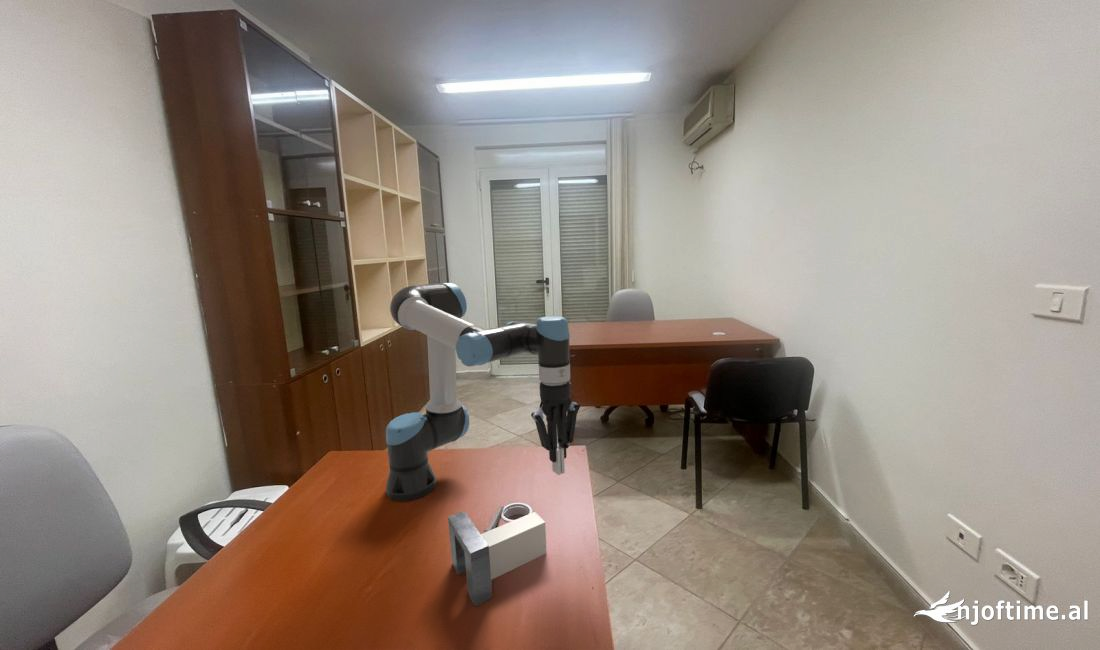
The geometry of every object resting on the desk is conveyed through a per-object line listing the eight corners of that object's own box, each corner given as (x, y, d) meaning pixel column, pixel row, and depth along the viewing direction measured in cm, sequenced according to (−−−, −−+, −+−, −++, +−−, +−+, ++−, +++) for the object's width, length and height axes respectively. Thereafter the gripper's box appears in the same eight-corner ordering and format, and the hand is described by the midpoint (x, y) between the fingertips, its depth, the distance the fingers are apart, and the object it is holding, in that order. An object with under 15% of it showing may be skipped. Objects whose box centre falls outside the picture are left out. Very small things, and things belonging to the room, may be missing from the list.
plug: (469, 572, 95) (466, 539, 93) (536, 541, 104) (534, 511, 103) (477, 586, 91) (474, 552, 89) (546, 553, 100) (545, 522, 99)
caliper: (487, 559, 99) (485, 536, 98) (483, 559, 99) (481, 536, 98) (503, 508, 119) (502, 488, 118) (500, 508, 119) (498, 488, 118)
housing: (452, 564, 98) (447, 516, 95) (468, 557, 100) (464, 510, 97) (474, 606, 85) (470, 553, 83) (492, 597, 87) (488, 545, 85)
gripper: (538, 390, 91) (543, 487, 95) (586, 379, 98) (589, 469, 102) (522, 382, 98) (527, 473, 102) (569, 372, 105) (572, 458, 109)
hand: (558, 471), depth 102 cm, fingers closed
